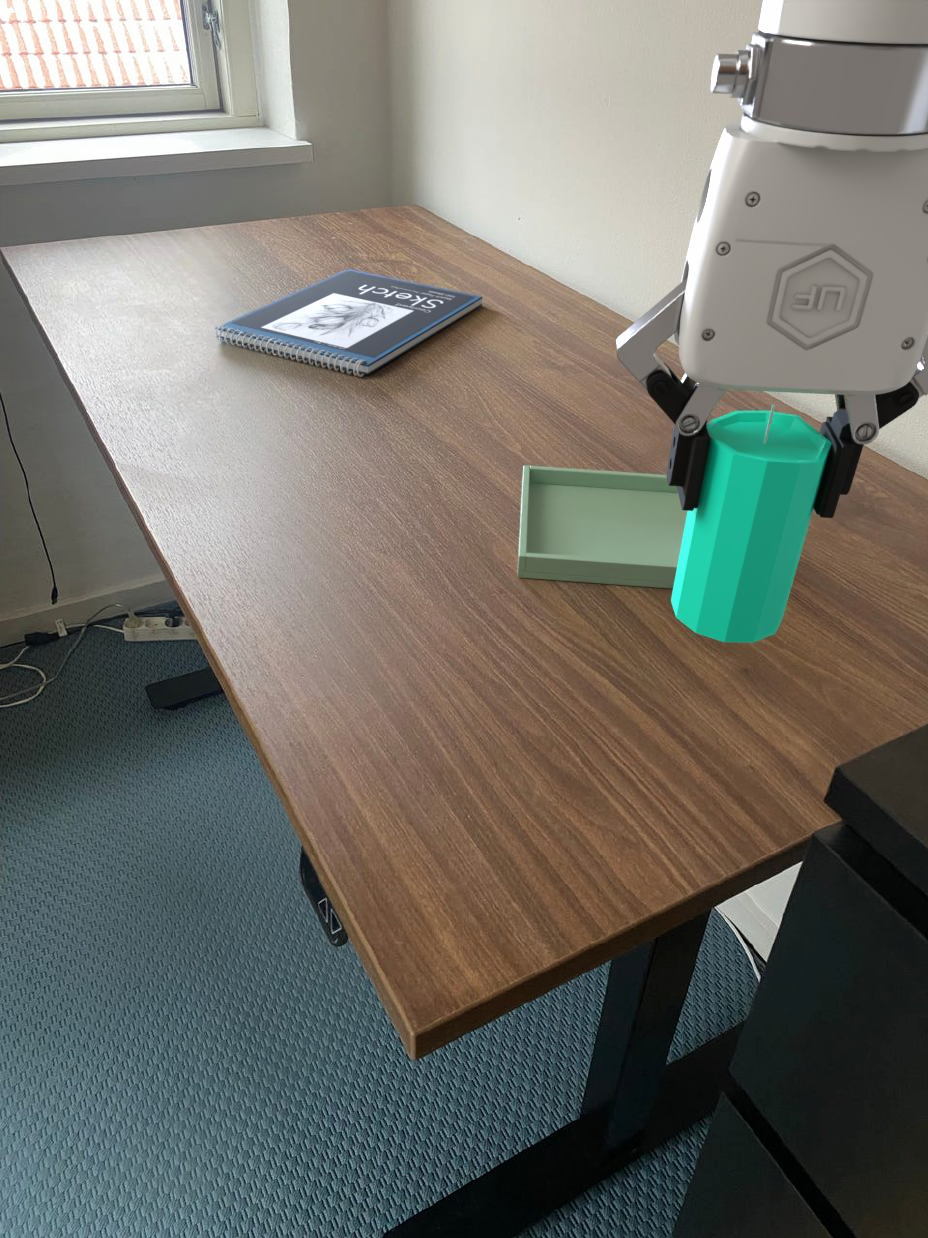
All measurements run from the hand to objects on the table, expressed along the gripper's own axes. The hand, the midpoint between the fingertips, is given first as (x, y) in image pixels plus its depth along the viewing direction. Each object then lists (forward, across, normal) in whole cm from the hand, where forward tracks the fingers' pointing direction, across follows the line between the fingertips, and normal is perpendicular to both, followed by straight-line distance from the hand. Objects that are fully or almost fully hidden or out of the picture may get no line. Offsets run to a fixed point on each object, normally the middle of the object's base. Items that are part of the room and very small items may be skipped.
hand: (752, 497), depth 46 cm
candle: (+7, 0, 0) cm, 7 cm away
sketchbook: (+19, -34, +74) cm, 84 cm away
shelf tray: (+19, -3, +27) cm, 33 cm away
